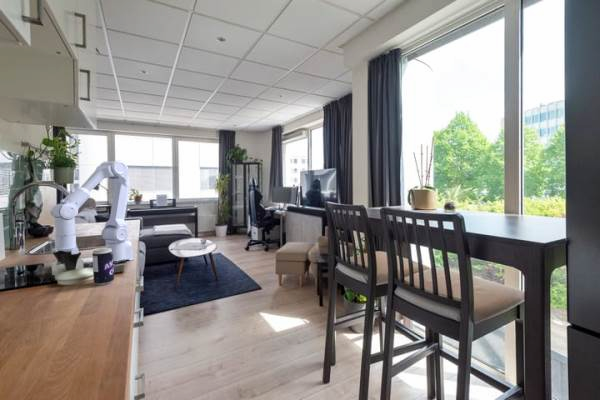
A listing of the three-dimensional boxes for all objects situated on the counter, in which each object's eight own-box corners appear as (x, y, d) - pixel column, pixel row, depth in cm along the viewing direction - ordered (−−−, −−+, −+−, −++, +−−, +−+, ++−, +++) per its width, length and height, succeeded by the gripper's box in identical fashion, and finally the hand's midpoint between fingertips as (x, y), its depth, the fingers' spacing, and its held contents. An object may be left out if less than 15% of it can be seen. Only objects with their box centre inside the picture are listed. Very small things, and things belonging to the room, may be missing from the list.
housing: (78, 270, 110) (77, 257, 110) (83, 272, 107) (83, 258, 107) (52, 276, 103) (51, 262, 103) (57, 278, 101) (56, 264, 100)
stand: (89, 272, 107) (89, 266, 107) (105, 277, 101) (104, 270, 101) (49, 282, 97) (49, 275, 97) (64, 288, 91) (63, 280, 90)
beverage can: (106, 286, 92) (104, 250, 92) (89, 286, 93) (87, 250, 92) (117, 280, 98) (116, 246, 97) (102, 280, 98) (100, 246, 98)
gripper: (44, 235, 105) (46, 270, 105) (60, 238, 97) (63, 276, 98) (67, 232, 111) (69, 265, 112) (84, 235, 103) (86, 271, 104)
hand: (68, 270), depth 105 cm, fingers closed on housing, 5 cm apart
